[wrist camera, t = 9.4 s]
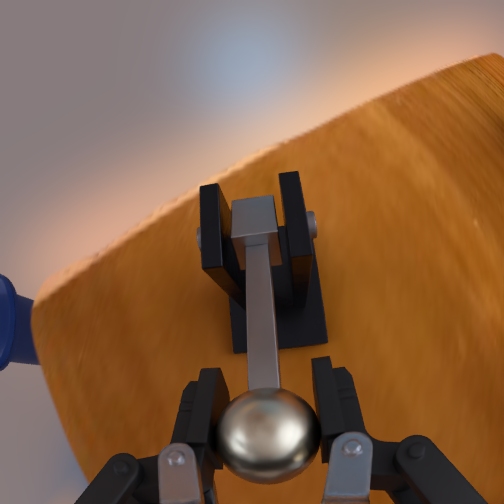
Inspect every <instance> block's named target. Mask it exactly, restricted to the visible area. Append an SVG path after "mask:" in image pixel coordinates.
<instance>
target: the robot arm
mask: <svg viewBox="0 0 504 504" xmlns="http://www.w3.org/2000/svg"><path fill="white" fill-rule="evenodd" d="M311 363H312V380H313V392H314V400H315V407H316V415H317V418H318V421H319V424H320V432H321V441H320V448H321V457H322V463H328V472H327V478H326V484H325V489H324V494H323V499H322V502H321V504H370V501H369V490H385V491H386V492H387V494H388V495H389V496H390V498H391V499H392V500H393V502H394V503H395V504H488V503H487V502H486V501H485V500H484V499H483V497H482V496H481V495H480V494H479V493H478V492H477V491H476V490H475V489H474V487H473V486H472V485H471V484H470V483H469V482H468V481H467V480H466V479H465V477H464V476H463V475H462V474H461V473H460V472H459V471H458V470H457V469H456V467H455V466H454V465H453V464H452V463H451V462H450V461H449V460H448V459H447V458H446V456H445V455H444V454H443V453H442V452H441V451H440V450H439V449H438V448H437V446H436V445H435V444H434V443H433V442H432V441H431V440H430V439H429V438H427V437H425V436H422V435H412V436H409V437H407V438H405V439H404V440H402V441H401V442H384V441H379V440H376V439H374V438H373V437H371V436H370V435H369V434H368V433H367V431H366V429H365V426H364V422H363V418H362V413H361V409H360V405H359V401H358V397H357V393H356V390H355V386H354V382H353V378H352V375H351V374H350V373H349V372H348V371H347V369H346V368H345V367H339V368H333V369H332V364H331V360H330V356H326V357H319V358H312V359H311ZM229 403H230V397H229V391H228V388H227V385H226V382H225V379H224V377H223V374H222V371H221V369H220V368H202V369H201V371H200V375H199V379H198V381H190V382H189V384H188V385H187V386H186V388H185V389H184V390H183V393H182V398H181V403H180V406H179V412H178V414H177V418H176V422H175V426H174V431H173V435H172V439H171V442H170V444H169V445H168V446H166V447H165V448H163V449H162V451H161V452H160V454H158V455H156V456H152V457H147V458H141V459H136V458H135V457H134V456H132V455H130V454H128V453H119V454H116V455H114V456H113V457H111V458H110V459H109V461H108V462H107V463H106V464H105V466H104V467H103V468H102V469H101V471H100V472H99V473H98V474H97V476H96V477H95V478H94V480H93V481H92V482H91V483H90V485H89V486H88V487H87V488H86V490H85V491H84V492H83V493H82V495H81V496H80V497H79V498H78V500H77V501H76V502H75V503H74V504H219V503H218V497H217V491H216V485H215V481H214V470H215V469H223V462H222V460H221V458H220V457H219V455H218V452H217V449H216V445H215V428H216V424H217V421H218V418H219V416H220V415H221V413H222V411H223V410H224V408H225V407H226V406H227V405H228V404H229Z"/></svg>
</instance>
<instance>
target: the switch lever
mask: <svg viewBox="0 0 504 504" xmlns="http://www.w3.org/2000/svg"><path fill="white" fill-rule="evenodd" d="M231 240H232V244H233V247H234V250H235V254H236V257H237V260H238V264H239V267H240V270H245V269H246V314H247V356H248V391H247V392H244V393H242V394H241V395H239V396H237V397H236V398H234V399H233V400H232V401H231V402H230V403H229V404H228V405H227V406H226V407H225V408H224V410H223V411H222V413H221V415H220V416H219V418H218V421H217V424H216V428H215V445H216V449H217V452H218V455H219V457H220V458H221V460H222V462H223V463H224V465H225V466H226V467H227V468H228V469H229V470H230V471H231V472H232V473H234V474H235V475H236V476H238V477H240V478H241V479H244V480H246V481H249V482H252V483H256V484H266V485H270V484H278V483H282V482H285V481H288V480H291V479H293V478H294V477H296V476H298V475H299V474H301V473H302V472H303V471H304V470H306V469H307V468H308V467H309V465H310V464H311V463H312V462H313V460H314V458H315V457H316V455H317V452H318V450H319V446H320V441H321V432H320V424H319V421H318V418H317V416H316V414H315V412H314V410H313V409H312V408H311V406H310V405H309V404H308V403H307V402H306V401H305V400H304V399H302V398H301V397H300V396H298V395H296V394H295V393H293V392H290V391H288V390H285V389H281V375H280V362H279V350H278V337H277V325H276V313H275V302H274V290H273V279H272V268H271V266H276V265H282V264H283V261H282V253H281V245H280V237H279V230H278V223H277V216H276V209H275V203H274V196H273V195H268V196H261V197H254V198H247V199H241V200H234V201H232V209H231Z"/></svg>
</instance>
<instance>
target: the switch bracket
mask: <svg viewBox="0 0 504 504" xmlns="http://www.w3.org/2000/svg"><path fill="white" fill-rule="evenodd" d="M278 175H279V184H280V192H281V201H282V209H283V218H284V226H279V227H278V230H279V237H280V245H281V253H282V261H283V264H282V265H276V266H271V268H272V279H273V290H274V302H275V313H276V325H277V337H278V350H281V349H289V348H297V347H305V346H312V345H319V344H326V343H328V337H327V329H326V322H325V314H324V307H323V300H322V293H321V287H320V280H319V274H318V267H317V261H316V255H315V249H314V243H313V238H316V237H317V226H316V219H315V215H314V212H313V211H307V212H306V208H305V203H304V198H303V192H302V187H301V182H300V177H299V172H298V171H293V172H286V173H279V174H278ZM197 242H198V246H199V249H200V251H201V263H202V269H203V270H204V271H205V272H206V273H207V274H208V275H209V276H210V277H211V278H212V279H213V280H214V281H215V282H216V283H217V284H218V285H219V286H220V287H221V288H222V289H223V290H224V291H225V292H226V293H227V294H228V295H229V303H230V316H231V329H232V341H233V353H234V354H241V353H247V314H246V269H245V270H240V267H239V264H238V260H237V257H236V254H235V250H234V247H233V244H232V240H231V211H230V209H229V207H228V204H227V202H226V200H225V198H224V195H223V193H222V191H221V189H220V186H219V184H218V183H215V184H209V185H204V186H200V227H198V229H197Z"/></svg>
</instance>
